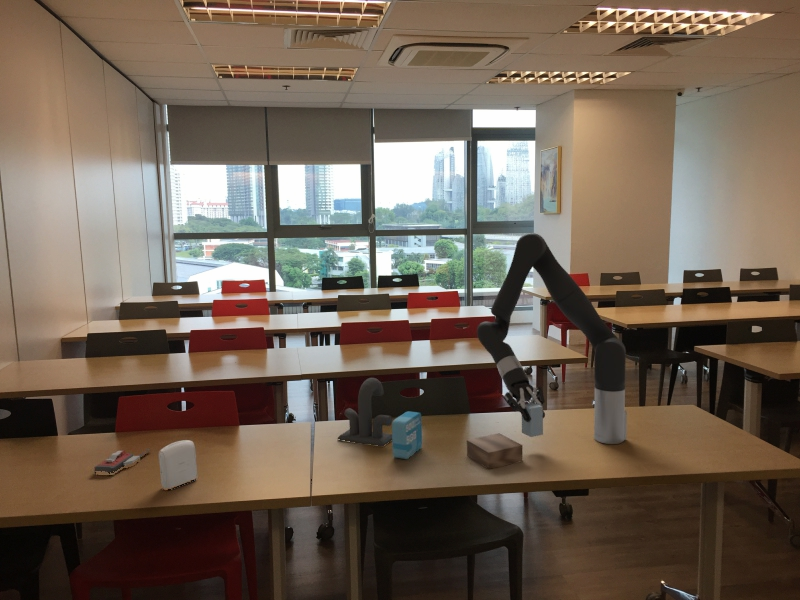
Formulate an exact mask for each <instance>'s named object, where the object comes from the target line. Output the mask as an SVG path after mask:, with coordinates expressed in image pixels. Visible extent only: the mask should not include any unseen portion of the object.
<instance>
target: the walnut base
mask: <svg viewBox="0 0 800 600" xmlns="http://www.w3.org/2000/svg"><path fill="white" fill-rule="evenodd" d="M466 455H467V457H469V458H471V460H474V461H475V462H477V463H478V464H480V465H482V466H483V467H484V468H486V469H488V470H491V469H494V468H500V467H504V466H508V465H511V464H516V463H521V462H523V458H524V457H523V455H524V454H523V444H521V443H519V442H518V441H516V440H513V439H512V438H510V437H507V436H505V435H503V434H502V433H500V432H499V433H495V434H494V433H493V434H488V435H485V436H480V437H474V438H469V439H466Z"/></svg>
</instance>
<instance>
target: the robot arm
mask: <svg viewBox="0 0 800 600" xmlns="http://www.w3.org/2000/svg"><path fill="white" fill-rule="evenodd" d="M532 268H533V269H534V270H535V271H536V272H537V274H538V275H539V276H540V278H541V280H542V281H543V283H544V285H545V287H546V289H547V292H548V293H549V295H550V297H551V298H552V300H553V302H554V304H555V305H556V306H557V307H558V309H559V310H560V311H561V312H562V314H563V315H564V316H565V317H566V319H568V321H570V322H571V323H572V324H573V325H574V326H575V327H576V328H577V329H579V330H580V331H581V332H582V334H583V335H584V336H585V338H586V339H587V340H588V342H589V343H590V345H591V346H592V349H593V350H594V361H593V362H594V365H593V366H594V367H593V368H594V375H593V378H594V409H593V410H594V411H593V412H594V413H593V416H594V421H593V422H594V425H593V429H594V430H593V433H594V434H593V439H594V440H595V441H596V442H598V443H601V444H607V445H618V444H622V443H623V442H624V441H625V440H627V428H628V427H627V424H628V418H627V417H628V411H627V410H625V405H626V403H625V401H626V396H625V395H626V359H627V358H626V353H627V350H626V346H625V344H624V343H623V341H622V340H621V339H620V338H619V337H618V336H617V335H616V333H614V331H612V330H611V328H610V327H608V326H607V324H606V323H605V322H604V321H603V319H602V318H601V316H600V315H599V313H598V311H597V309H596V308H595V307H594V305H593V303H592V302H591V301H590V299H589V298H588V296H587V294H585V292H584V291H583V290H582V288H581V287H580V286H579V284H577V282H576V280H575V279H574V278H573V277H572V276H571V275H570V274H569V273H568V272H567V271H566V270H565V268H564V267H563V266H562V265H561V264H560V263H559V261H558V260H557V259H556V257H555V256H554V254H553V252H552V251H551V249H550V247H549V246H548V244H547V242H546V240H545V239H544V237H543V236H542V235H540V234H539V233H535V232H529V233H524V234H523V235H521V236H520V237H519V238H518V240H517V241H516V245H515V250H514V252H513V257H512V260H511V263H510V266H509V269H508V271H507V274H506V277H505V279H504V280H503V282H502V285H501V287H500V289H499V290H498V293H497V295H496V297H495V300H494V302H493V304H492V306H491V310H490V312H491V314H492V315H493V316H494V321H493V322H492V321H483V322H481V323H479V324H478V325H477V329H476V336H477V339H478V340H479V343H480V344H481V345H482V346H483V348H484V350H486V351H487V352H488V353H489V355H490V356H491V358H492V360H493V361H494V364H495V366H496V367H497V371H498V373H499V375H500V377H501V380H502V381H503V384H504V385H505V387H506V389H507V390H508V391H506V393H505V394H504V395H503V398H502V399H503V400H504V401H505V402H506V404H507V405H508V406H509V407H510V409H511V410H512V411H513V412H519V413H520V414H521V417H522V416H523V418H524V420H525V421H526V422H529V421H530V420H531V417H530V415H529V413H528V411H527V409H525V404H526V403H525V402H527V404H529V403H536V404H538V405H541V406H543V405H544V404H545V403H546V400H545V397H544V393H543V389H542V387H541V386H538V387H534V386H532V385H531V383H530V379H529V377H528V375H527V373H526V372H525V369H524V368H523V366H522V364H521V362H520V361H519V359H518V358H517V356H516V354H515V352H514V350H513V348H512V347H511V345H510V344H508V343H507V342H504V341H505V340H506V338H507V336H508V333H509V330H510V329H509V328H510V323H511V317H512V314H513V312H514V310H515V308H516V306H517V304H518V301H519V299H520V297H521V294H522V290H523V288H524V285H525V283H526V279H527V278H528V276H529V274H530V272H531V270H532ZM545 417H546V413H545V411H544V410H543V419H545Z"/></svg>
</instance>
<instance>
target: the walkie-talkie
mask: <svg viewBox="0 0 800 600" xmlns="http://www.w3.org/2000/svg"><path fill="white" fill-rule="evenodd" d="M150 449H151V448H147V449H146V450H144V451H143V452H141V453H140V454H139V455H134V454H133V453H131V452H130V453H129V452H126V451H125V450H116V451H115V452H113V453H111V454H110V456H109V457H107V458H106V459H104V460H103V461H101V462H100V463H99V464H97V465H96V466H94V469H93V470H94V472H95V471H101V472H102V471H105V472H108V473H109V474H110V472H111V473H114V472H115V471H117V470H118V469H120V468H121V467H124V466H126V465H129V464H132V463H134V462H135V461H137V460H138V459H140V457H141V456H142V455H143V454H144V453H145V452H147V451H148V450H150ZM150 451H151V450H150ZM140 460H141V459H140ZM113 471H114V472H113Z"/></svg>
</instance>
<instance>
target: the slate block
mask: <svg viewBox="0 0 800 600" xmlns="http://www.w3.org/2000/svg"><path fill="white" fill-rule="evenodd" d="M525 409H527V411H528V413H529V415H530V417H531V420H530V421H529V422H526V421H525V420H524V418H523V416H522V415H521V433H522V434H524V435H526V436H528V437H530V438H532V437H533V438H535V437H538V436H543V435H544V418H543V411H544V409H543V405H542V406H541V405H538V404H536V403H525Z"/></svg>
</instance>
